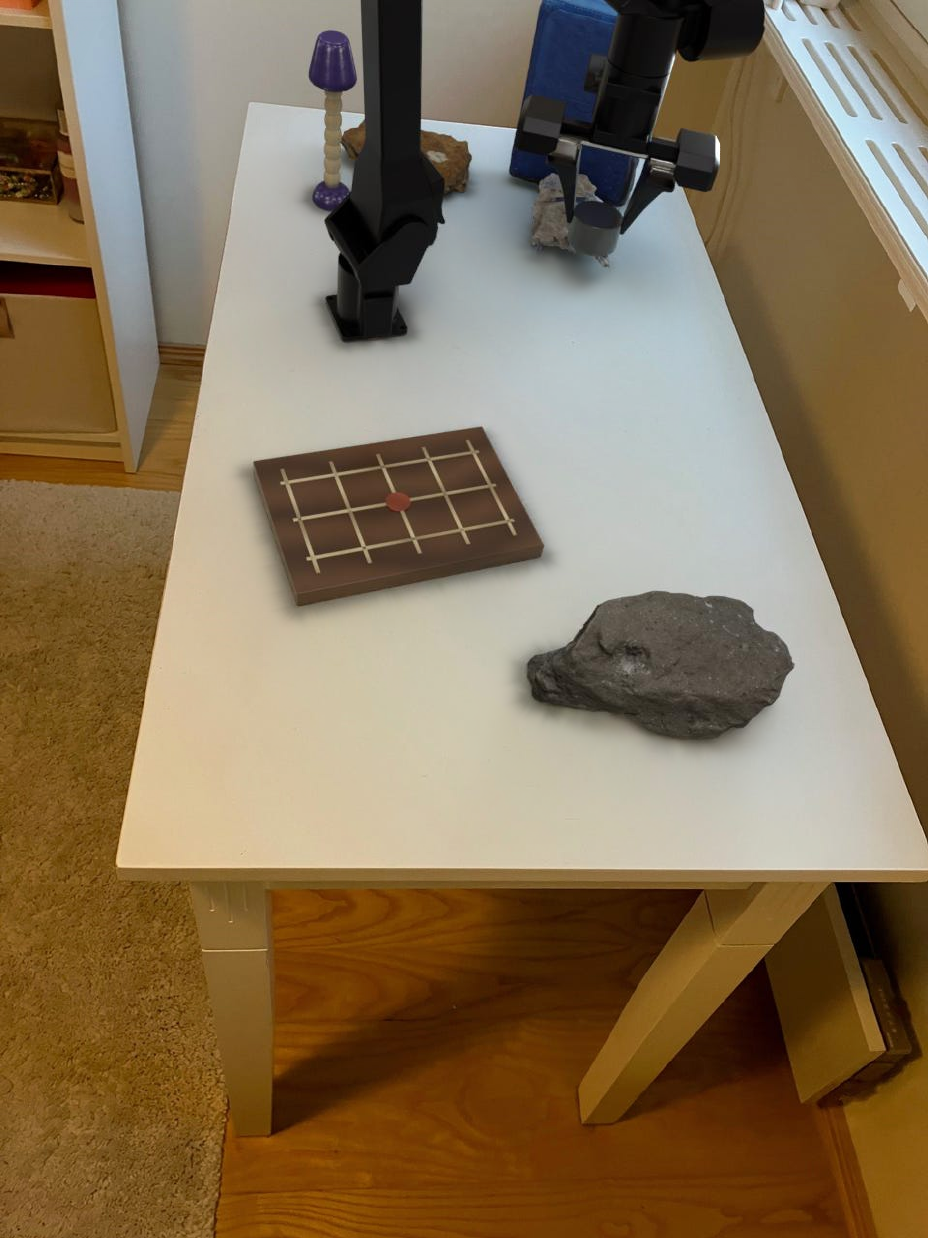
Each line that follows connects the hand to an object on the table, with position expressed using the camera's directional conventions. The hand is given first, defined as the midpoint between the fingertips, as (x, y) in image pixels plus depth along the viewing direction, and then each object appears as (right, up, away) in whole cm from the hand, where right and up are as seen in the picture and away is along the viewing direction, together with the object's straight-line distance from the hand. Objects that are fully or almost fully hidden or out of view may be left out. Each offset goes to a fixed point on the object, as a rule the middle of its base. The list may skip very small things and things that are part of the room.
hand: (595, 226), depth 96 cm
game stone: (0, -1, +1) cm, 1 cm away
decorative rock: (-20, +12, +14) cm, 27 cm away
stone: (+1, -45, -25) cm, 51 cm away
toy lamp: (-28, +6, +8) cm, 29 cm away
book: (-1, +10, +15) cm, 19 cm away
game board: (-19, -31, -18) cm, 40 cm away
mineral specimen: (-2, +3, +10) cm, 11 cm away
